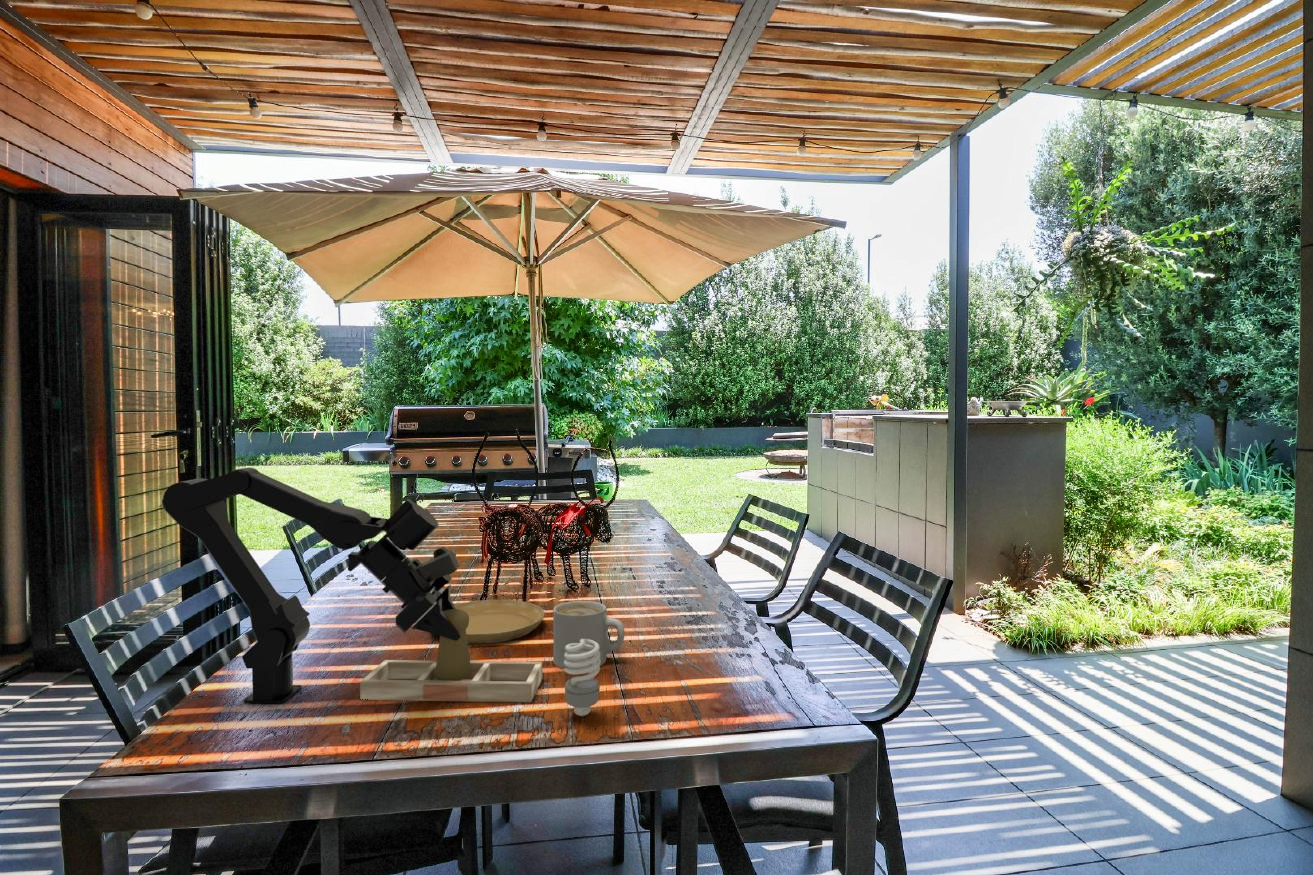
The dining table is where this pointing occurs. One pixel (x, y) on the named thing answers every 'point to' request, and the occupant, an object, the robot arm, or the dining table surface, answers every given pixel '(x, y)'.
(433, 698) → the rack
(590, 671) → the light bulb
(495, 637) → the plant saucer
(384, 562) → the robot arm
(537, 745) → the dining table surface
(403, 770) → the dining table surface
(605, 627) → the coffee mug
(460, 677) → the olive chess pawn
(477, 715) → the dining table surface
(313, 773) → the dining table surface
